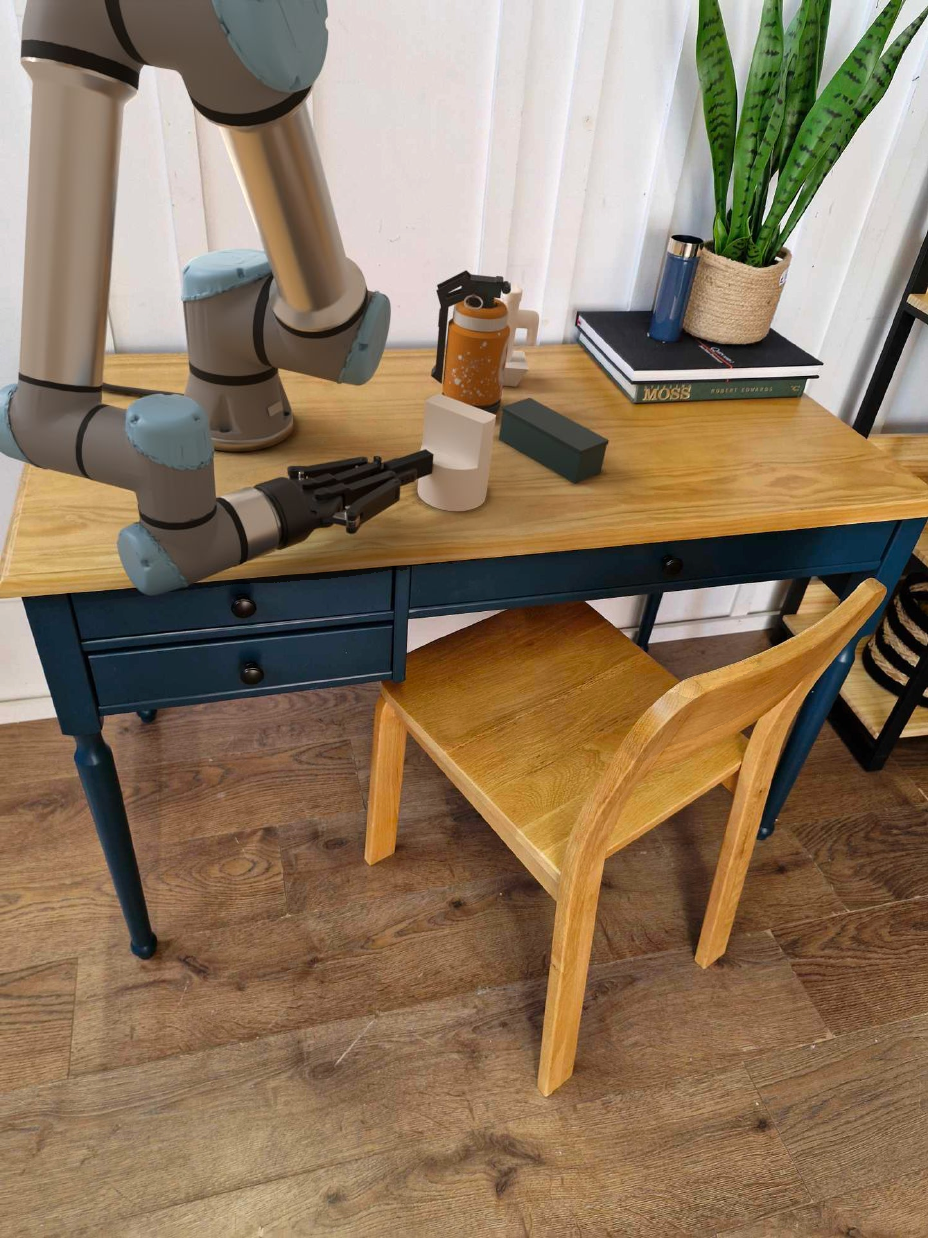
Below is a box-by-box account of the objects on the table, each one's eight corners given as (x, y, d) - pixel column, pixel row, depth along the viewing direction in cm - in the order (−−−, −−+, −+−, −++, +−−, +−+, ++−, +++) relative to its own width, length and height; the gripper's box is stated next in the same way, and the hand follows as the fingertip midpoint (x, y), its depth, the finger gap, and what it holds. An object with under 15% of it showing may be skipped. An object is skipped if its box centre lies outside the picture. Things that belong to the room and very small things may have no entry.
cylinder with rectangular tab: (498, 491, 122) (510, 408, 114) (461, 519, 116) (471, 432, 108) (442, 468, 125) (450, 385, 118) (403, 493, 119) (409, 408, 112)
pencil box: (497, 438, 133) (501, 406, 130) (524, 429, 137) (529, 397, 134) (574, 484, 125) (581, 450, 122) (602, 472, 129) (609, 440, 125)
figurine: (532, 391, 147) (547, 298, 138) (473, 387, 146) (484, 293, 137) (527, 372, 153) (541, 281, 144) (470, 368, 152) (481, 276, 143)
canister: (499, 423, 137) (517, 288, 125) (425, 415, 137) (436, 280, 125) (499, 397, 144) (516, 267, 132) (429, 390, 144) (439, 259, 132)
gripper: (233, 520, 106) (393, 465, 120) (299, 576, 99) (461, 511, 113) (230, 463, 102) (396, 412, 115) (298, 517, 94) (467, 456, 108)
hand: (428, 461), depth 114 cm, fingers closed
